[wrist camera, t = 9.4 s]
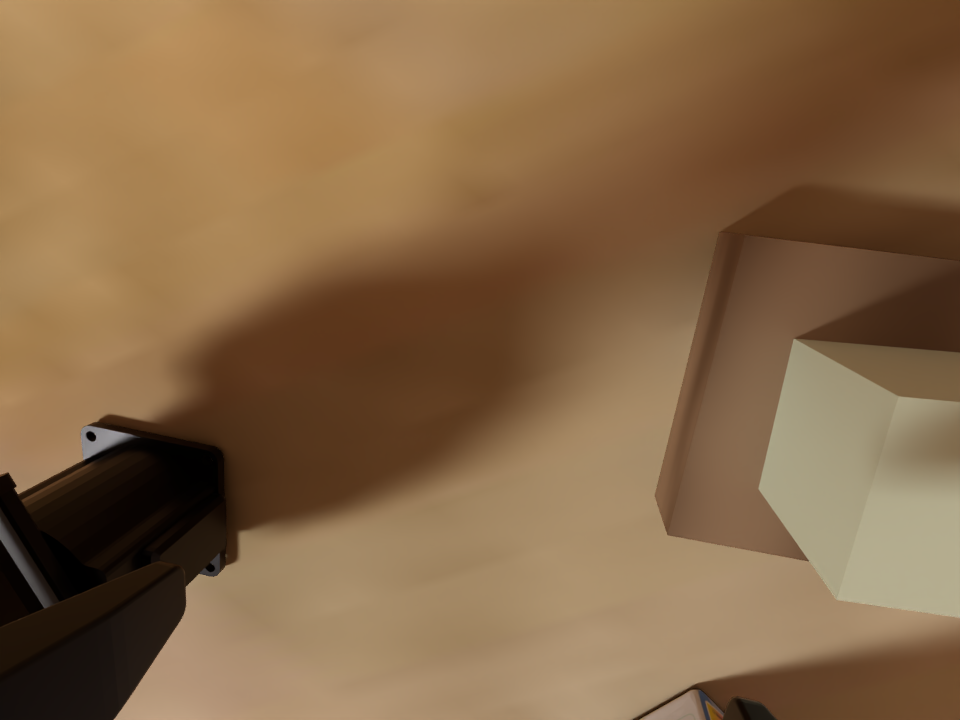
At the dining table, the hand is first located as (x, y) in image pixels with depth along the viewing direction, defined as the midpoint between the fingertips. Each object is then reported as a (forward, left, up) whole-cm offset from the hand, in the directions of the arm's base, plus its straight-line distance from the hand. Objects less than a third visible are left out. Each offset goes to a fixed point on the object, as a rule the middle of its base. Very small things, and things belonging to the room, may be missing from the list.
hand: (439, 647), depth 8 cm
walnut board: (+11, +2, -12) cm, 17 cm away
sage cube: (+11, +2, -10) cm, 14 cm away
